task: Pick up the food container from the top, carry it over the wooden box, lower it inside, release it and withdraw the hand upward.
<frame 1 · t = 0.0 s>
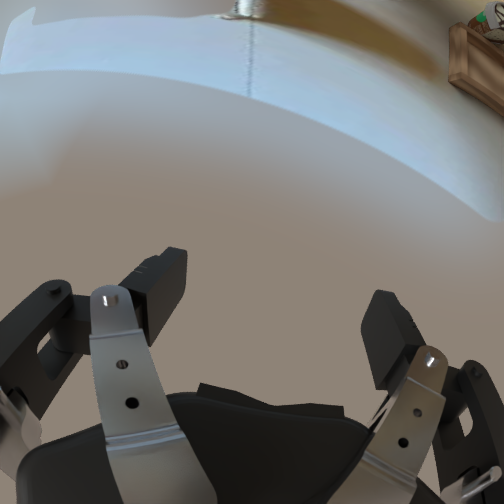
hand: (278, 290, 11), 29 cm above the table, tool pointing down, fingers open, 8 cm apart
food container: (479, 28, 20), on the table
wooden box: (486, 76, 24), on the table
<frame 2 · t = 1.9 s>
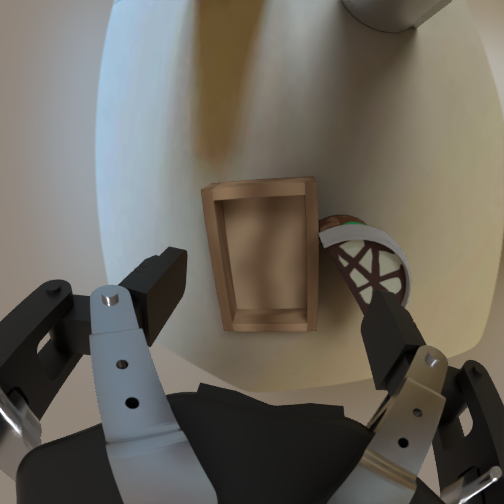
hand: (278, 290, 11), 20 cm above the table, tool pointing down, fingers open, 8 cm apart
food container: (359, 240, 31), on the table
wooden box: (267, 252, 33), on the table
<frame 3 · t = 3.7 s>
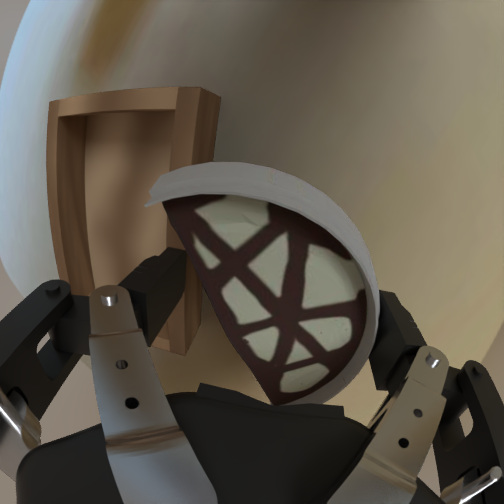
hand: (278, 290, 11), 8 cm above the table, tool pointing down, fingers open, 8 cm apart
food container: (285, 225, 18), on the table, touching gripper
wooden box: (135, 213, 19), on the table
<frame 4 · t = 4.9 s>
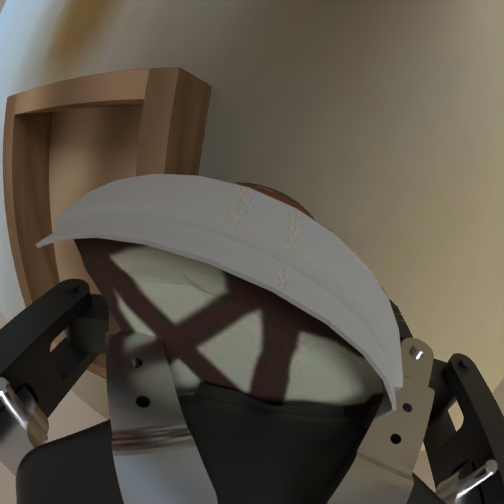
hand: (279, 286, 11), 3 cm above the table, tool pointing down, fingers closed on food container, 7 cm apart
food container: (293, 256, 14), on the table, touching gripper
wooden box: (106, 232, 15), on the table
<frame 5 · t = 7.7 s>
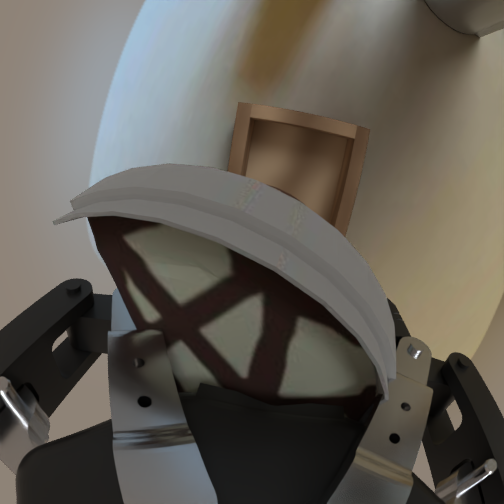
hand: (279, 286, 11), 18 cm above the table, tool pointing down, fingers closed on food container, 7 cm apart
food container: (296, 256, 14), point 14 cm above the table, touching gripper
wooden box: (287, 200, 27), on the table
when the fingers open (5 cm above the table, at t = 10.5 s): food container stays where it is, resting on wooden box.
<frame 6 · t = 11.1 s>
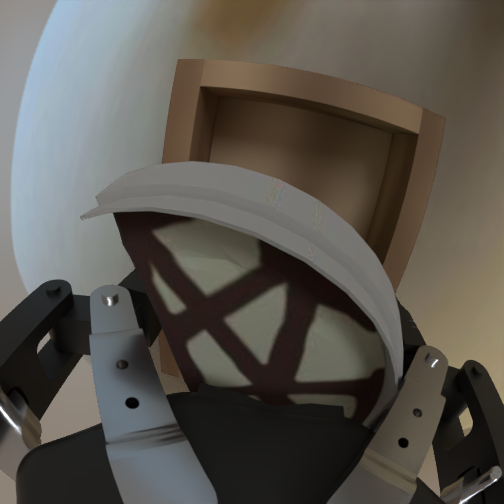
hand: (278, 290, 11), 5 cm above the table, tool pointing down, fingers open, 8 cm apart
food container: (299, 249, 15), point 1 cm above the table, touching gripper, wooden box
wooden box: (281, 243, 16), on the table
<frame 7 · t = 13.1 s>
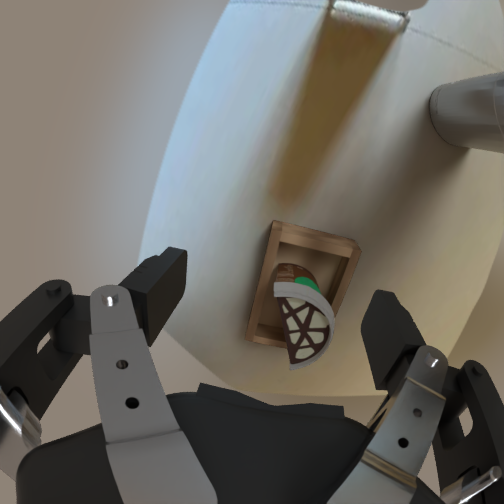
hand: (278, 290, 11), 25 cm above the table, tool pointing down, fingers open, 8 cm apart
food container: (305, 288, 39), point 1 cm above the table, touching wooden box
wooden box: (298, 285, 39), on the table
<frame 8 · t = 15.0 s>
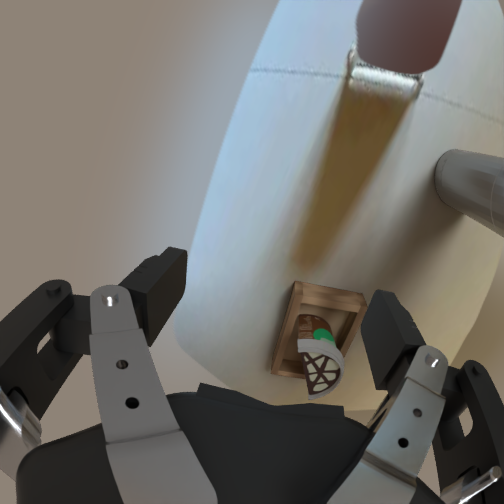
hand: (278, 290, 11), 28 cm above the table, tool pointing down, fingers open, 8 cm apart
food container: (320, 332, 45), point 1 cm above the table, touching wooden box
wooden box: (314, 329, 45), on the table
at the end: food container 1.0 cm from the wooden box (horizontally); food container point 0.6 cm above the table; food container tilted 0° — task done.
